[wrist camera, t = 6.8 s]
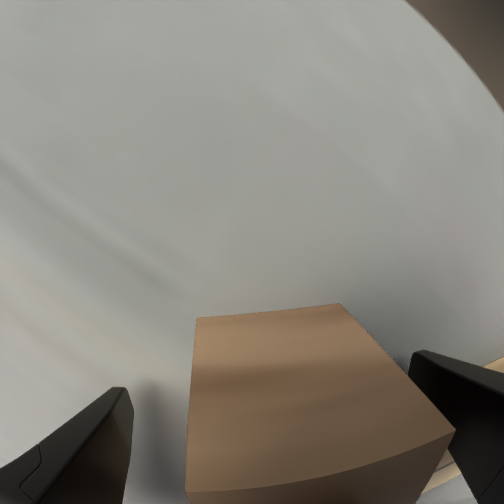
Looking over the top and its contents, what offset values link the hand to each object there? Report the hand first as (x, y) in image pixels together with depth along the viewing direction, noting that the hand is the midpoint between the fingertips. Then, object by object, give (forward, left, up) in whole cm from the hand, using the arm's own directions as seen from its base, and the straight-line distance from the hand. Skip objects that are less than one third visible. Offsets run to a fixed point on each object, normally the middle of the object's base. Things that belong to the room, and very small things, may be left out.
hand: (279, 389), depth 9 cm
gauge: (-4, 0, -1) cm, 4 cm away
